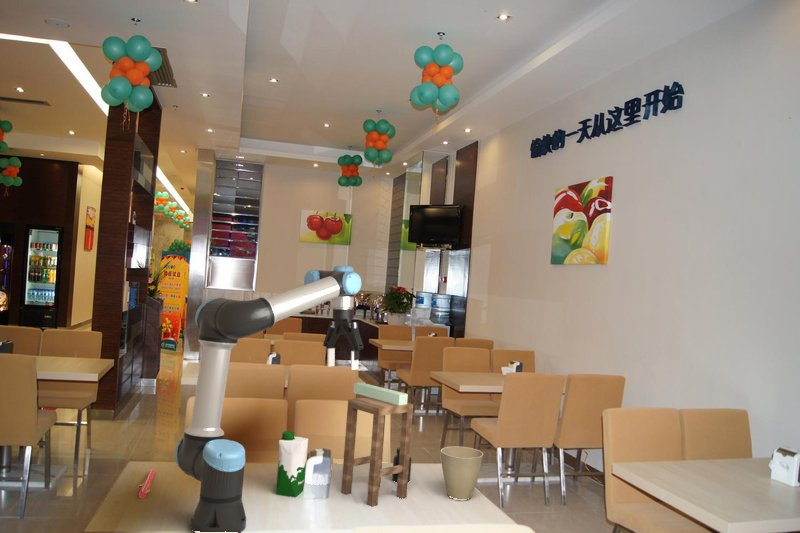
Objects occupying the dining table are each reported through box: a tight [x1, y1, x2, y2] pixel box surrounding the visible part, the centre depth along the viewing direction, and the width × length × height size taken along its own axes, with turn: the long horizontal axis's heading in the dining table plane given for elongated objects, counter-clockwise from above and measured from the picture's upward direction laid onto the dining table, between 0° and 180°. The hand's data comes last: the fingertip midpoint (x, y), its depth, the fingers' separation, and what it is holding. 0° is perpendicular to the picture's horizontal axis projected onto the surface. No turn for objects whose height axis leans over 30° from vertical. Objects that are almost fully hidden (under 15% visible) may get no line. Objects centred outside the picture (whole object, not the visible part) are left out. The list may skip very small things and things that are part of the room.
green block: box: [353, 382, 409, 405], centre depth 217 cm, size 24×4×4 cm, turn 44°
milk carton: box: [275, 430, 309, 498], centre depth 206 cm, size 9×9×20 cm
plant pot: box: [440, 446, 484, 499], centre depth 214 cm, size 15×15×16 cm
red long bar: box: [138, 468, 156, 499], centre depth 203 cm, size 24×2×5 cm
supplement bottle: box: [391, 446, 413, 483], centre depth 227 cm, size 7×7×12 cm
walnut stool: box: [340, 396, 414, 508], centre depth 210 cm, size 16×16×32 cm
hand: (342, 367), depth 219 cm, fingers open, 13 cm apart
